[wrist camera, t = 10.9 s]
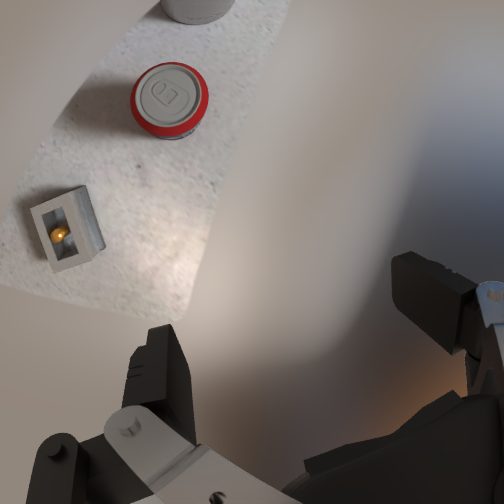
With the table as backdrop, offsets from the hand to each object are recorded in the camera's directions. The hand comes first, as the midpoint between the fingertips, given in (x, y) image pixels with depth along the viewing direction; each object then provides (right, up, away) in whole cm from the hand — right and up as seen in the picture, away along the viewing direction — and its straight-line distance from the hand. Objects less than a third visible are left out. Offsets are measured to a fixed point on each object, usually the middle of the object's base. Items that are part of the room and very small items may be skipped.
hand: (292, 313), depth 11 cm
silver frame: (-23, +5, +24) cm, 33 cm away
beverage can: (-10, +18, +23) cm, 31 cm away
